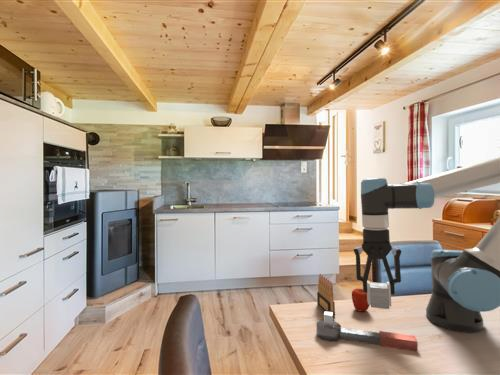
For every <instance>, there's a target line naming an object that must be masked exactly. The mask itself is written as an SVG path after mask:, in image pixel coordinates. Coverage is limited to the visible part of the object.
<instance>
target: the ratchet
mask: <svg viewBox="0 0 500 375" xmlns="http://www.w3.org/2000/svg"><path fill="white" fill-rule="evenodd" d="M316 336H317V337H318V338H319V339H320V340H322V341H325V342H330V343H331V342H338V341H340V340H342V341H350V342H355V343H363V344H371V345H375V346H380V347H386V348H391V349H392V348H393V349H398V350H399V349H400V350H405V351H406V350H407V351H412V352H419V351H418V349H419V348H418V344H419V343H418V340H417V338H416V336H415V335H412V334H404V333H397V332H392V331H391V332H389V331H382V330H379V332H376V331H368V330H362V329H355V328H354V329H353V328H347V327H342V326H341V324H340V323H339V322H338V321H335V320H334V317H333V312H326V311H325V312H324V311H323V319H321V320H318V321H316Z"/></svg>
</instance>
